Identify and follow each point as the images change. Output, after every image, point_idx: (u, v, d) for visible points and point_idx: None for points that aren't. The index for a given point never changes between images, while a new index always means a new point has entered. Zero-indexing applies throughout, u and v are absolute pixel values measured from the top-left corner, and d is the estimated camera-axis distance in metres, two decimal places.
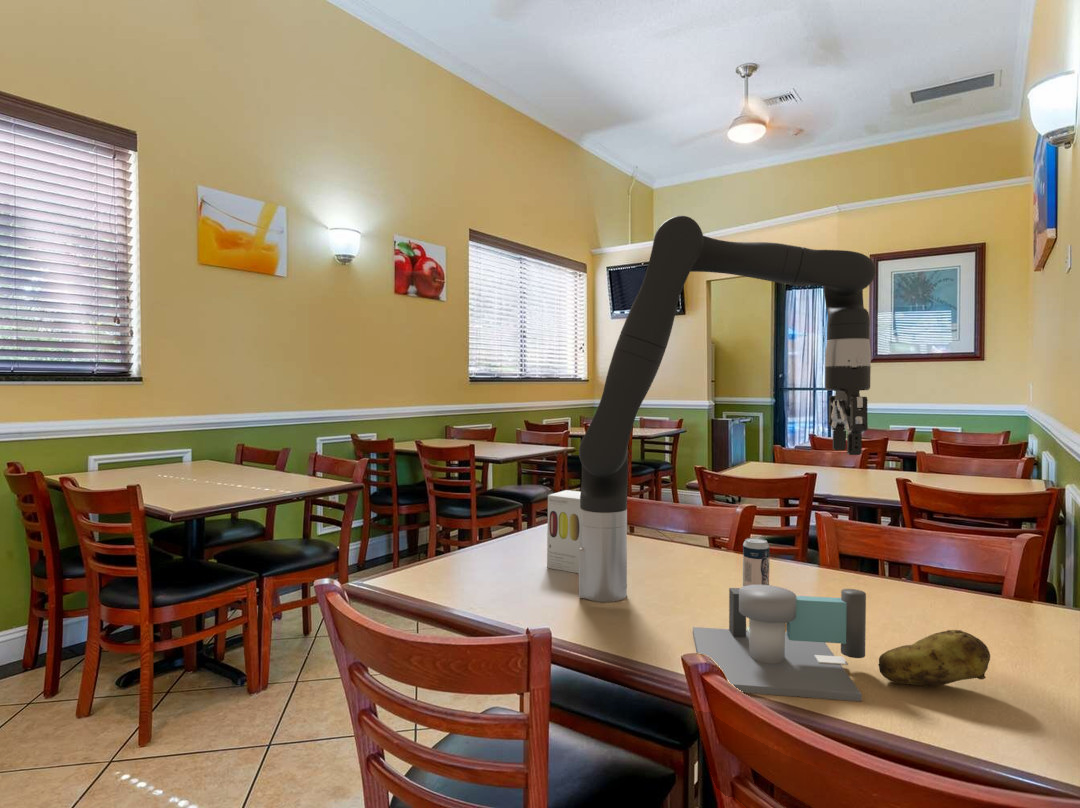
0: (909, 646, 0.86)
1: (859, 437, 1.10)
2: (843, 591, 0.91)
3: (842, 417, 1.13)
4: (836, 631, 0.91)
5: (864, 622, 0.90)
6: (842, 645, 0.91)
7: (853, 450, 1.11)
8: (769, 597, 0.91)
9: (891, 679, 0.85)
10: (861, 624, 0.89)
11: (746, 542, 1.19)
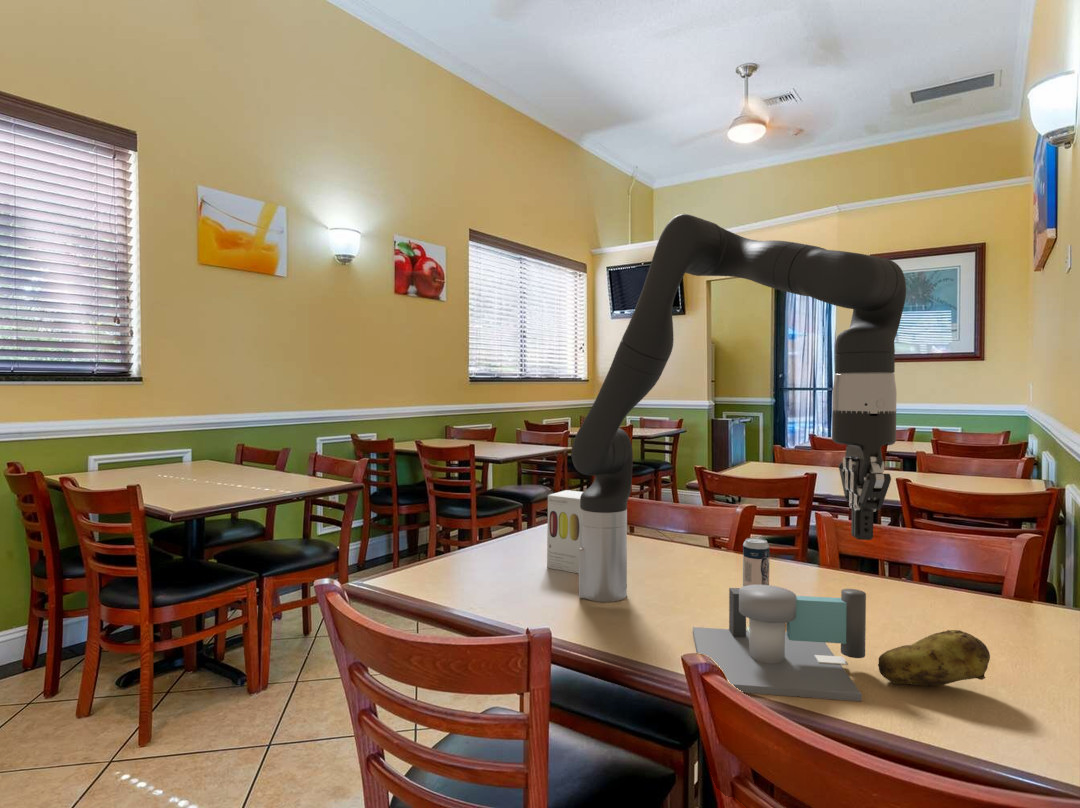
0: (909, 646, 0.86)
1: (870, 516, 0.81)
2: (843, 591, 0.91)
3: (851, 486, 0.82)
4: (836, 631, 0.91)
5: (864, 622, 0.90)
6: (842, 645, 0.91)
7: (862, 534, 0.82)
8: (769, 597, 0.91)
9: (891, 679, 0.85)
10: (861, 624, 0.89)
11: (746, 542, 1.19)
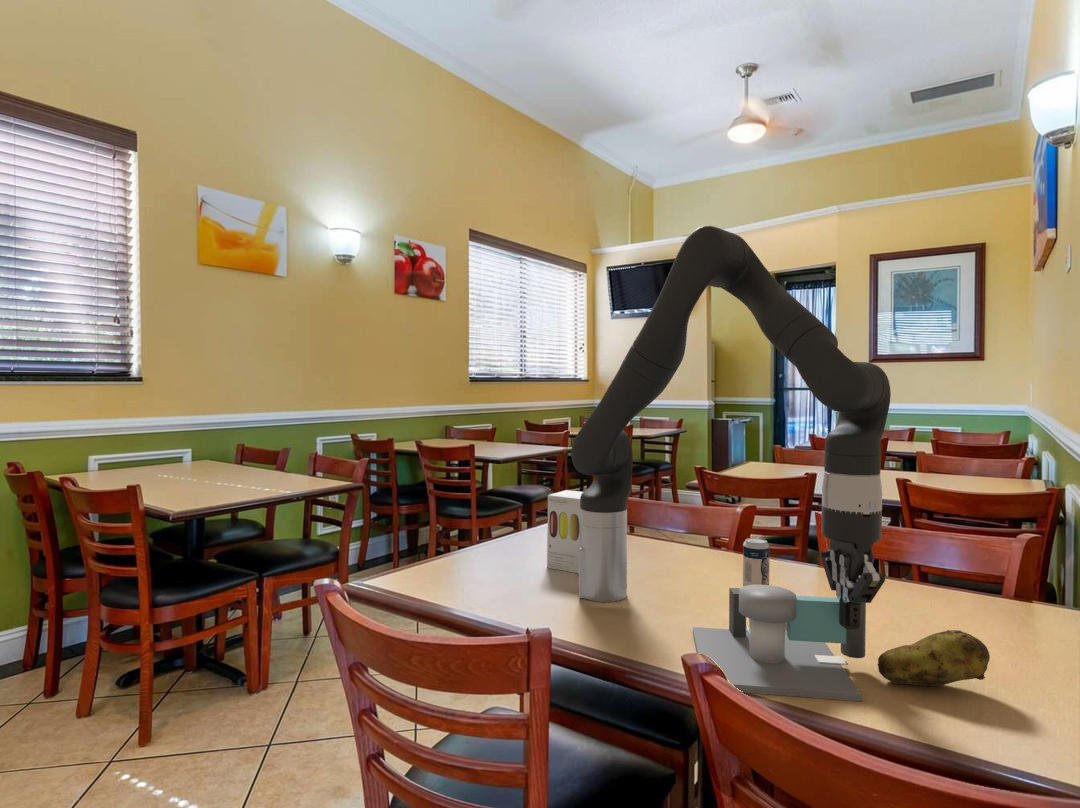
0: (908, 646, 0.86)
1: (858, 608, 0.86)
2: None
3: (842, 580, 0.86)
4: (836, 631, 0.91)
5: (864, 622, 0.90)
6: (842, 645, 0.91)
7: (851, 625, 0.86)
8: (769, 597, 0.91)
9: (890, 679, 0.85)
10: (861, 624, 0.89)
11: (746, 542, 1.19)
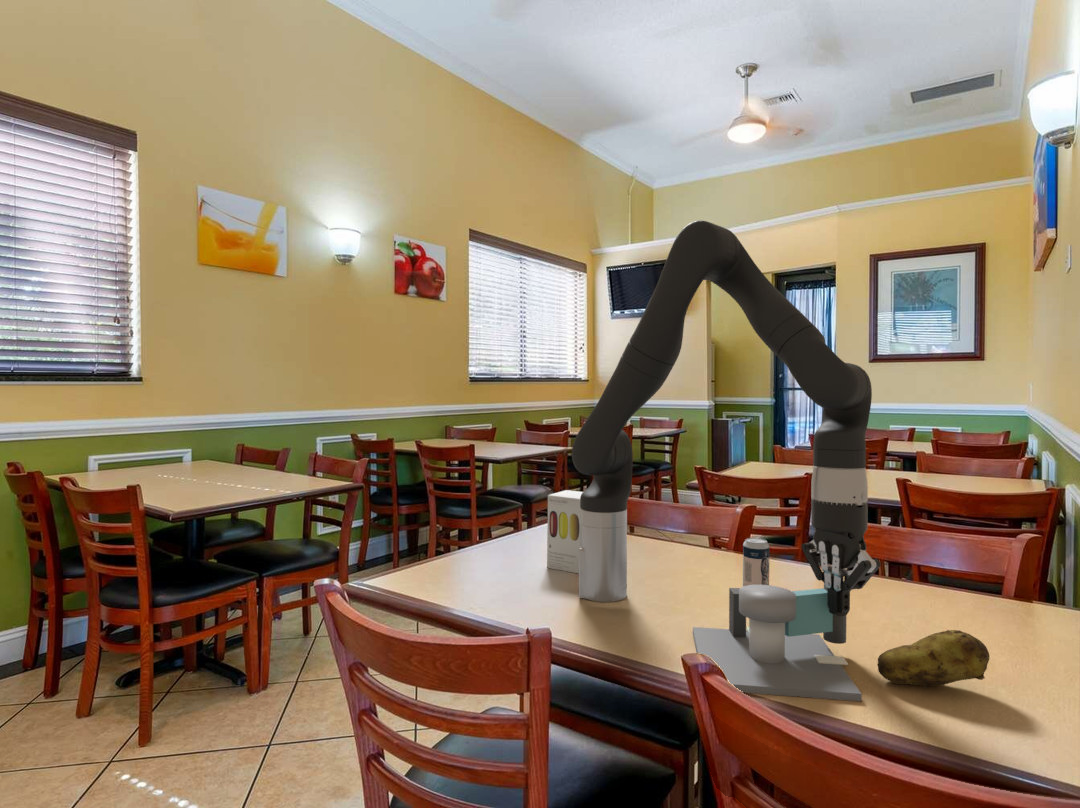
0: (908, 646, 0.86)
1: (848, 595, 0.91)
2: None
3: (835, 569, 0.91)
4: (825, 621, 0.95)
5: None
6: (827, 633, 0.95)
7: (843, 611, 0.91)
8: (774, 597, 0.91)
9: (890, 679, 0.85)
10: None
11: (746, 542, 1.19)
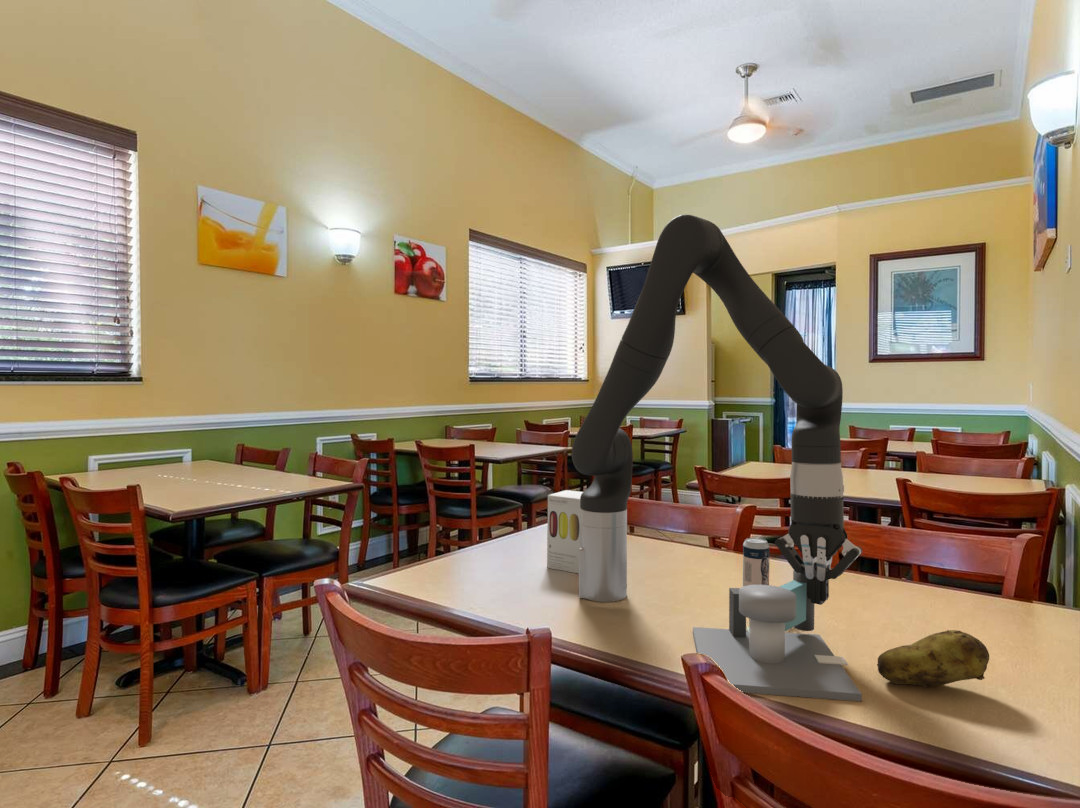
0: (908, 646, 0.86)
1: (828, 583, 0.97)
2: (799, 573, 1.00)
3: (821, 560, 0.95)
4: (802, 611, 0.99)
5: None
6: (801, 622, 1.00)
7: (825, 599, 0.96)
8: (779, 596, 0.92)
9: (890, 679, 0.85)
10: None
11: (746, 542, 1.19)
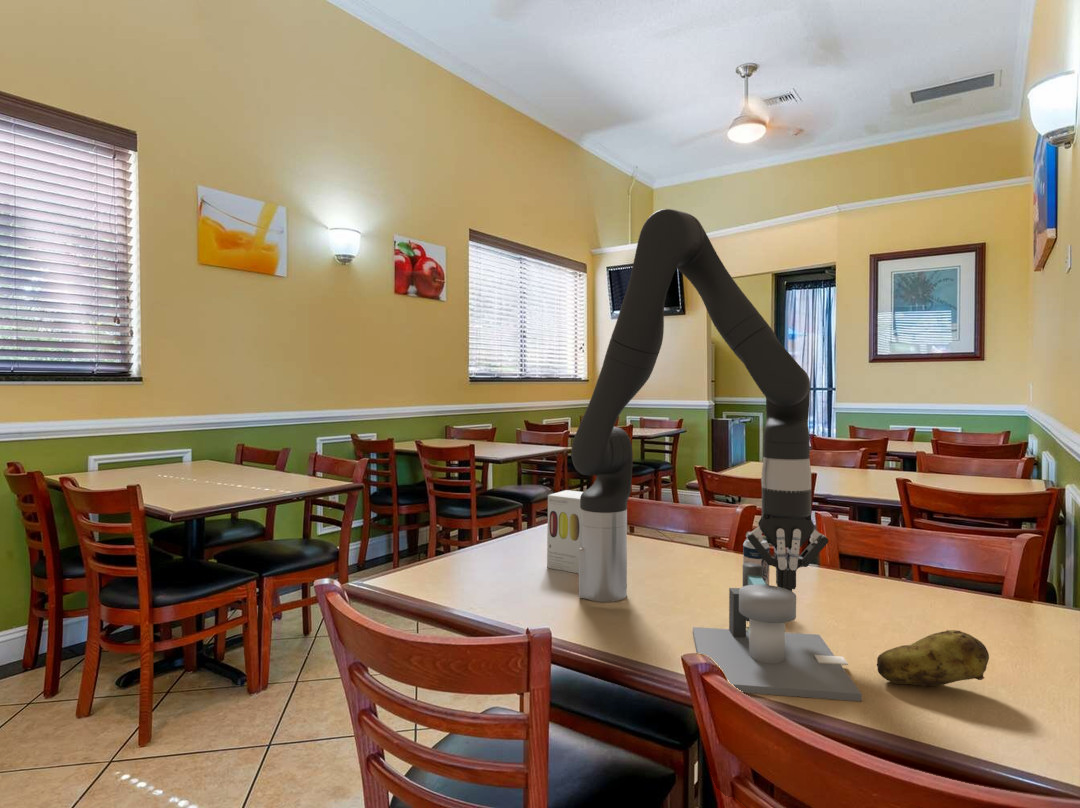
0: (907, 646, 0.86)
1: None
2: (753, 567, 1.03)
3: (795, 550, 1.00)
4: None
5: None
6: None
7: None
8: (780, 593, 0.93)
9: (889, 679, 0.85)
10: None
11: (746, 542, 1.19)
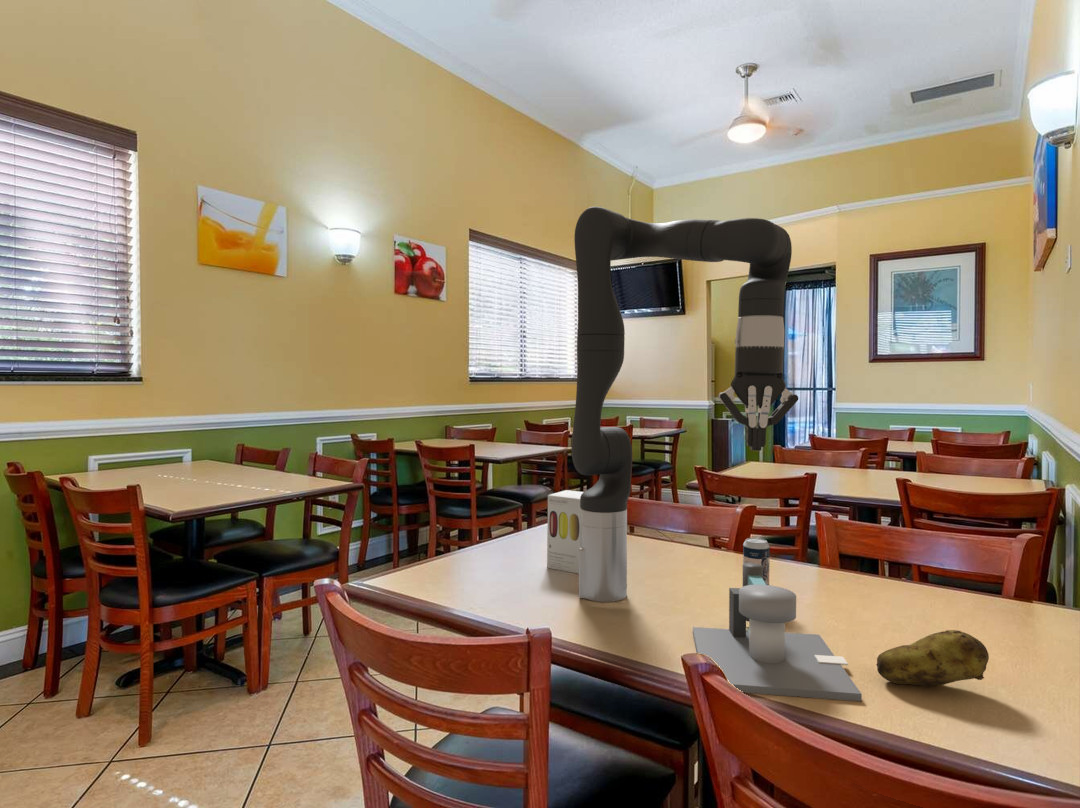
0: (907, 646, 0.86)
1: None
2: (753, 567, 1.03)
3: (766, 408, 1.02)
4: None
5: None
6: None
7: (764, 445, 1.03)
8: (780, 593, 0.93)
9: (889, 679, 0.85)
10: None
11: (746, 542, 1.19)
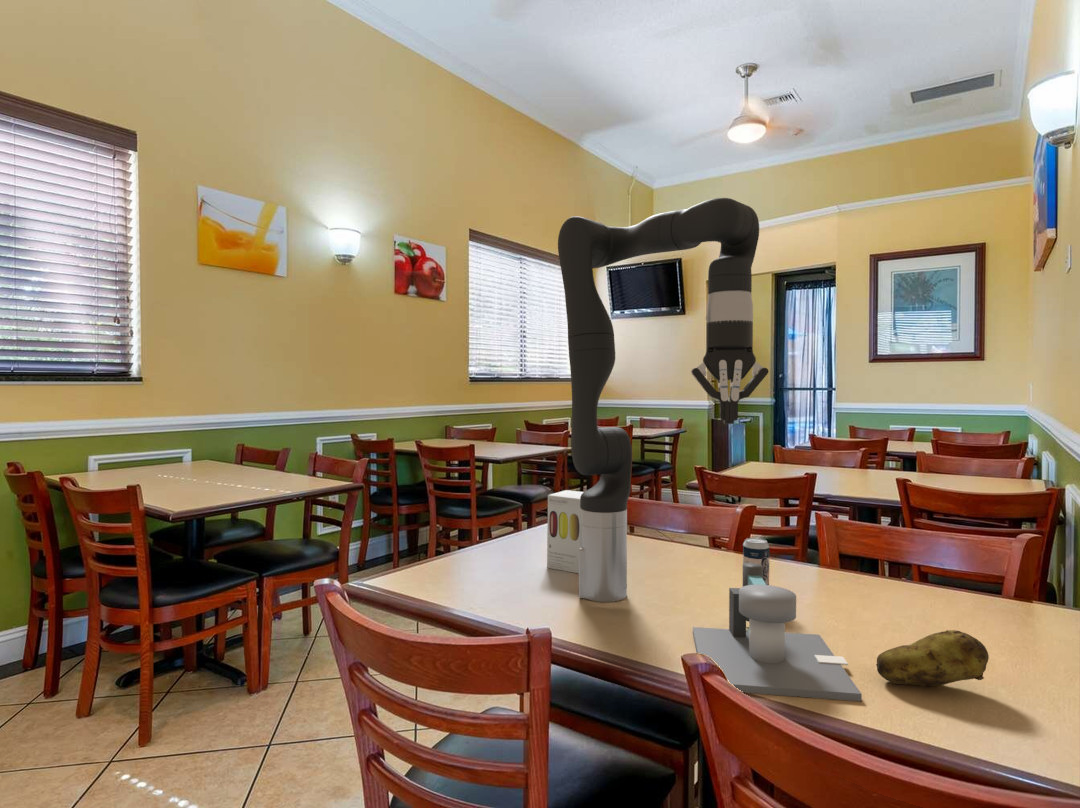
0: (907, 646, 0.86)
1: None
2: (753, 567, 1.03)
3: (737, 381, 1.04)
4: None
5: None
6: None
7: None
8: (780, 593, 0.93)
9: (889, 679, 0.86)
10: None
11: (746, 542, 1.19)
